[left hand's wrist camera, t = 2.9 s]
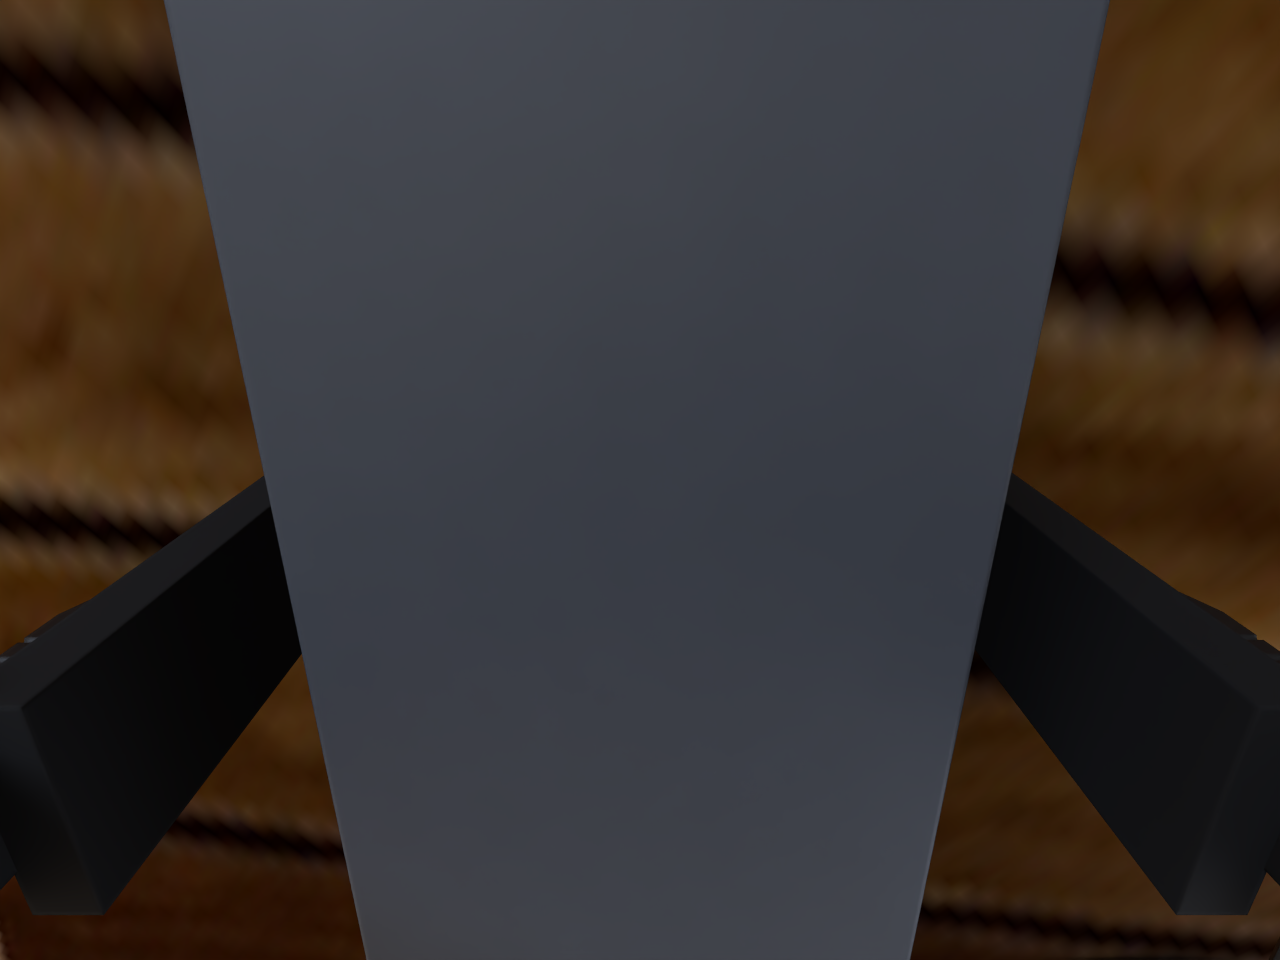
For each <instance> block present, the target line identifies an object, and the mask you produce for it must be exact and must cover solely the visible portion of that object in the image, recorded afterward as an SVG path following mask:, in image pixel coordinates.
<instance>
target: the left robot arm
mask: <svg viewBox="0 0 1280 960" xmlns="http://www.w3.org/2000/svg"><path fill="white" fill-rule="evenodd" d="M1256 636H1257V635H1255V634H1254V633H1252V632H1251V631H1250V630H1248V629H1247V628H1245V627H1244V626H1242V625H1241V624H1240V623H1238V622H1237V621H1235V620H1234V619H1232V618H1231V617H1229V616H1228V615H1227V614H1225V613H1224V612H1222V611H1220V610H1218V609H1215V608H1213V607H1211V606H1209V605H1207V604H1204V603H1202V602H1200V601H1198V600H1196V599H1194V598H1191V597H1189V596H1187V595H1185V594H1183V593H1181V592H1178V591H1177V590H1175V589H1174V588H1173V587H1171V586H1170V585H1168V584H1167V583H1166V582H1164V581H1163V580H1161V579H1160V578H1159V577H1157V576H1156V575H1154V574H1153V573H1152V572H1150V571H1149V570H1147V569H1146V568H1145V567H1143V566H1142V565H1140V564H1139V563H1138V562H1136V561H1135V560H1133V559H1132V558H1131V557H1129V556H1128V555H1126V554H1125V553H1124V552H1122V551H1121V550H1119V549H1118V548H1117V547H1115V546H1114V545H1112V544H1111V543H1110V542H1108V541H1107V540H1105V539H1104V538H1103V537H1101V536H1100V535H1098V534H1097V533H1095V532H1094V531H1093V530H1091V529H1090V528H1088V527H1087V526H1086V525H1084V524H1083V523H1081V522H1080V521H1079V520H1077V519H1076V518H1074V517H1073V516H1072V515H1070V514H1069V513H1067V512H1066V511H1065V510H1063V509H1062V508H1060V507H1059V506H1058V505H1056V504H1055V503H1053V502H1052V501H1051V500H1049V499H1048V498H1046V497H1045V496H1044V495H1042V494H1041V493H1039V492H1038V491H1037V490H1035V489H1034V488H1032V487H1031V486H1030V485H1028V484H1027V483H1025V482H1024V481H1023V480H1021V479H1020V478H1018V477H1017V476H1016V475H1014V474H1013V473H1011V477H1010V481H1009V486H1008V491H1007V496H1006V501H1005V505H1004V510H1003V515H1002V520H1001V525H1000V529H999V534H998V539H997V544H996V549H995V553H994V558H993V563H992V568H991V573H990V577H989V582H988V587H987V592H986V597H985V601H984V606H983V611H982V616H981V621H980V625H979V630H978V635H977V640H976V645H975V650H976V651H977V653H978V654H979V655H980V657H981V658H982V659H983V661H984V662H985V663H986V664H987V666H988V667H989V668H990V670H991V671H992V672H993V674H994V675H995V676H996V678H997V679H998V680H999V682H1000V683H1001V684H1002V686H1003V687H1004V688H1005V690H1006V691H1007V692H1008V693H1009V695H1010V696H1011V697H1012V699H1013V700H1014V701H1015V703H1016V704H1017V705H1018V707H1019V708H1020V709H1021V711H1022V712H1023V713H1024V715H1025V716H1026V717H1027V719H1028V720H1029V721H1030V723H1031V724H1032V725H1033V726H1034V728H1035V729H1036V730H1037V732H1038V733H1039V734H1040V736H1041V737H1042V738H1043V740H1044V741H1045V742H1046V744H1047V745H1048V746H1049V748H1050V749H1051V750H1052V752H1053V753H1054V754H1055V755H1056V757H1057V758H1058V759H1059V761H1060V762H1061V763H1062V765H1063V766H1064V767H1065V769H1066V770H1067V771H1068V773H1069V774H1070V775H1071V777H1072V778H1073V779H1074V781H1075V782H1076V783H1077V785H1078V786H1079V787H1080V788H1081V790H1082V791H1083V792H1084V794H1085V795H1086V796H1087V798H1088V799H1089V800H1090V802H1091V803H1092V804H1093V806H1094V807H1095V808H1096V810H1097V811H1098V812H1099V814H1100V815H1101V816H1102V818H1103V819H1104V820H1105V821H1106V823H1107V824H1108V825H1109V827H1110V828H1111V829H1112V831H1113V832H1114V833H1115V835H1116V836H1117V837H1118V839H1119V840H1120V841H1121V843H1122V844H1123V845H1124V847H1125V848H1126V849H1127V850H1128V852H1129V853H1130V854H1131V856H1132V857H1133V858H1134V860H1135V861H1136V862H1137V864H1138V865H1139V866H1140V868H1141V869H1142V870H1143V872H1144V873H1145V874H1146V876H1147V877H1148V878H1149V880H1150V881H1151V882H1152V883H1153V885H1154V886H1155V887H1156V889H1157V890H1158V891H1159V893H1160V894H1161V895H1162V897H1163V898H1164V899H1165V901H1166V902H1167V903H1168V905H1169V906H1170V907H1171V909H1172V910H1173V911H1174V912H1175V914H1176V915H1247V914H1248V912H1249V910H1250V908H1251V905H1252V903H1253V901H1254V899H1255V897H1256V894H1257V892H1258V890H1259V888H1260V886H1261V883H1262V881H1263V879H1264V877H1265V875H1266V872H1267V873H1268V874H1269V875H1270V876H1271V877H1272V878H1273V879H1274V880H1275V881H1276V882H1277V883H1278V884H1279V885H1280V651H1278V650H1277V649H1276V648H1274V647H1273V646H1271V645H1270V644H1268V643H1267V642H1265V641H1264V640H1257V638H1256ZM301 654H302V651H301V646H300V642H299V637H298V632H297V627H296V623H295V618H294V613H293V608H292V604H291V599H290V594H289V590H288V585H287V580H286V575H285V571H284V566H283V561H282V556H281V552H280V547H279V542H278V537H277V533H276V528H275V523H274V519H273V514H272V509H271V504H270V500H269V495H268V490H267V485H266V481H265V476H263V477H262V478H260V479H259V480H257V481H256V482H255V483H253V484H252V485H250V486H249V487H248V488H246V489H245V490H243V491H242V492H241V493H239V494H238V495H236V496H235V497H234V498H232V499H231V500H229V501H228V502H227V503H225V504H224V505H222V506H221V507H220V508H218V509H217V510H215V511H214V512H213V513H211V514H210V515H208V516H207V517H206V518H204V519H203V520H201V521H200V522H199V523H197V524H196V525H194V526H193V527H192V528H190V529H189V530H187V531H186V532H185V533H183V534H182V535H180V536H179V537H178V538H176V539H175V540H173V541H172V542H171V543H169V544H168V545H166V546H165V547H164V548H162V549H161V550H159V551H158V552H157V553H155V554H154V555H152V556H151V557H149V558H148V559H147V560H145V561H144V562H142V563H141V564H140V565H138V566H137V567H135V568H134V569H133V570H131V571H130V572H128V573H127V574H126V575H124V576H123V577H121V578H120V579H119V580H117V581H116V582H114V583H113V584H112V585H110V586H109V587H107V588H106V589H105V590H103V591H102V592H100V593H99V594H98V595H96V596H95V597H93V598H92V599H91V600H89V601H86V602H84V603H82V604H80V605H78V606H76V607H73V608H71V609H69V610H67V611H65V612H63V613H60V614H58V615H57V616H55V617H54V618H53V619H51V620H50V621H48V622H47V623H45V624H44V625H43V626H41V627H40V628H38V629H37V630H35V631H34V632H33V633H31V634H30V635H28V636H27V637H25V641H24V643H17V644H15V645H14V646H13V647H11V648H10V649H8V650H7V651H5V652H4V653H3V654H1V655H0V890H1V889H2V888H3V887H4V885H5V884H6V883H7V882H8V881H9V880H10V879H11V878H12V877H13V876H14V875H15V877H16V879H17V881H18V883H19V886H20V888H21V890H22V892H23V894H24V897H25V899H26V901H27V903H28V905H29V908H30V910H31V912H32V914H33V915H104V914H105V913H106V911H107V910H108V909H109V907H110V906H111V905H112V903H113V902H114V901H115V899H116V898H117V897H118V895H119V894H120V893H121V891H122V890H123V889H124V887H125V886H126V885H127V883H128V882H129V881H130V880H131V878H132V877H133V876H134V874H135V873H136V872H137V870H138V869H139V868H140V866H141V865H142V864H143V862H144V861H145V860H146V858H147V857H148V856H149V854H150V853H151V852H152V851H153V849H154V848H155V847H156V845H157V844H158V843H159V841H160V840H161V839H162V837H163V836H164V835H165V833H166V832H167V831H168V829H169V828H170V827H171V825H172V824H173V823H174V821H175V820H176V819H177V818H178V816H179V815H180V814H181V812H182V811H183V810H184V808H185V807H186V806H187V804H188V803H189V802H190V800H191V799H192V798H193V796H194V795H195V794H196V792H197V791H198V790H199V789H200V787H201V786H202V785H203V783H204V782H205V781H206V779H207V778H208V777H209V775H210V774H211V773H212V771H213V770H214V769H215V767H216V766H217V765H218V763H219V762H220V761H221V759H222V758H223V757H224V756H225V754H226V753H227V752H228V750H229V749H230V748H231V746H232V745H233V744H234V742H235V741H236V740H237V738H238V737H239V736H240V734H241V733H242V732H243V730H244V729H245V728H246V726H247V725H248V724H249V723H250V721H251V720H252V719H253V717H254V716H255V715H256V713H257V712H258V711H259V709H260V708H261V707H262V705H263V704H264V703H265V701H266V700H267V699H268V697H269V696H270V695H271V694H272V692H273V691H274V690H275V688H276V687H277V686H278V684H279V683H280V682H281V680H282V679H283V678H284V676H285V675H286V674H287V672H288V671H289V670H290V668H291V667H292V666H293V664H294V663H295V662H296V661H297V659H298V658H299V657H300V655H301ZM1269 960H1280V938H1279V940H1278V942H1277V944H1276V946H1275V948H1274V950H1273V952H1272V954H1271V956H1270V958H1269Z"/></svg>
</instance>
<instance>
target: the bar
mask: <svg viewBox="0 0 1280 960" xmlns="http://www.w3.org/2000/svg"><path fill="white" fill-rule="evenodd" d="M1109 2H1110V0H164V3H165V8H166V12H167V17H168V22H169V26H170V31H171V36H172V41H173V45H174V50H175V55H176V60H177V64H178V69H179V74H180V78H181V83H182V88H183V93H184V97H185V102H186V107H187V112H188V116H189V121H190V126H191V131H192V135H193V140H194V145H195V149H196V154H197V159H198V164H199V168H200V173H201V178H202V183H203V187H204V192H205V197H206V202H207V206H208V211H209V216H210V220H211V225H212V230H213V235H214V239H215V244H216V249H217V254H218V258H219V263H220V268H221V273H222V277H223V282H224V287H225V291H226V296H227V301H228V306H229V310H230V315H231V320H232V325H233V329H234V334H235V339H236V343H237V348H238V353H239V358H240V362H241V367H242V372H243V377H244V381H245V386H246V391H247V396H248V400H249V405H250V410H251V414H252V419H253V424H254V429H255V433H256V438H257V443H258V448H259V452H260V457H261V462H262V467H263V471H264V476H265V481H266V485H267V490H268V495H269V500H270V504H271V509H272V514H273V519H274V523H275V528H276V533H277V537H278V542H279V547H280V552H281V556H282V561H283V566H284V571H285V575H286V580H287V585H288V590H289V594H290V599H291V604H292V608H293V613H294V618H295V623H296V627H297V632H298V637H299V642H300V646H301V651H302V656H303V661H304V665H305V670H306V675H307V679H308V684H309V689H310V694H311V698H312V703H313V708H314V713H315V717H316V722H317V727H318V731H319V736H320V741H321V746H322V750H323V755H324V760H325V765H326V769H327V774H328V779H329V784H330V788H331V793H332V798H333V802H334V807H335V812H336V817H337V821H338V826H339V831H340V836H341V840H342V845H343V850H344V855H345V859H346V864H347V869H348V873H349V878H350V883H351V888H352V892H353V897H354V902H355V907H356V911H357V916H358V921H359V926H360V930H361V935H362V940H363V944H364V949H365V954H366V959H367V960H910V956H911V952H912V947H913V942H914V937H915V932H916V928H917V923H918V918H919V913H920V908H921V904H922V899H923V894H924V889H925V884H926V880H927V875H928V870H929V865H930V860H931V856H932V851H933V846H934V841H935V836H936V832H937V827H938V822H939V817H940V812H941V808H942V803H943V798H944V793H945V788H946V784H947V779H948V774H949V769H950V764H951V760H952V755H953V750H954V745H955V740H956V736H957V731H958V726H959V721H960V717H961V712H962V707H963V702H964V697H965V693H966V688H967V683H968V678H969V673H970V669H971V664H972V659H973V654H974V649H975V645H976V640H977V635H978V630H979V625H980V621H981V616H982V611H983V606H984V601H985V597H986V592H987V587H988V582H989V577H990V573H991V568H992V563H993V558H994V553H995V549H996V544H997V539H998V534H999V529H1000V525H1001V520H1002V515H1003V510H1004V505H1005V501H1006V496H1007V491H1008V486H1009V481H1010V477H1011V472H1012V467H1013V462H1014V457H1015V453H1016V448H1017V443H1018V438H1019V433H1020V429H1021V424H1022V419H1023V414H1024V410H1025V405H1026V400H1027V395H1028V390H1029V386H1030V381H1031V376H1032V371H1033V366H1034V362H1035V357H1036V352H1037V347H1038V342H1039V338H1040V333H1041V328H1042V323H1043V318H1044V314H1045V309H1046V304H1047V299H1048V294H1049V290H1050V285H1051V280H1052V275H1053V270H1054V266H1055V261H1056V256H1057V251H1058V246H1059V242H1060V237H1061V232H1062V227H1063V222H1064V218H1065V213H1066V208H1067V203H1068V198H1069V194H1070V189H1071V184H1072V179H1073V174H1074V170H1075V165H1076V160H1077V155H1078V150H1079V146H1080V141H1081V136H1082V131H1083V127H1084V122H1085V117H1086V112H1087V107H1088V103H1089V98H1090V93H1091V88H1092V83H1093V79H1094V74H1095V69H1096V64H1097V59H1098V55H1099V50H1100V45H1101V40H1102V35H1103V31H1104V26H1105V21H1106V16H1107V11H1108V7H1109Z"/></svg>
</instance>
